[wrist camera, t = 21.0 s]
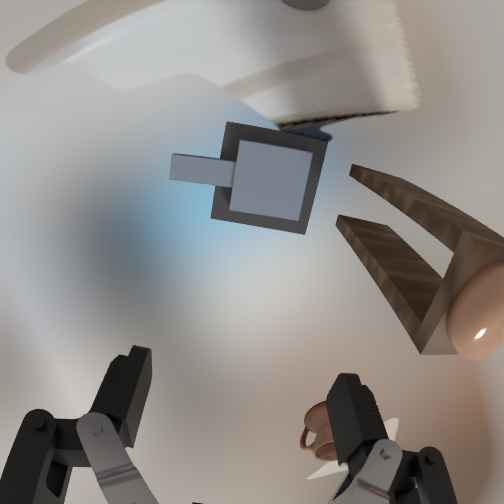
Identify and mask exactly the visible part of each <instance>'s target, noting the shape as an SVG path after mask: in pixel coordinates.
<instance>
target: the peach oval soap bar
mask: <svg viewBox="0 0 504 504" xmlns="http://www.w3.org/2000/svg"><path fill="white" fill-rule="evenodd" d="M446 332H447V336H448V339H449V340H450V342H451V343H452V345H453V346H454V348H455V349H456V350H457V352H458V353H459V355H460V356H461V357H463V358H464V359H468V360H474V359H478V358H481V357H484V356H485V355H488V354H489V353H491V352H493V351H494V350H495V349H497V348H498V347H499V346H500V345H501V344H503V343H504V262H503V261H501V262H495V263H492V264H490V265H488V266H486V267H484V268H483V269H481V270H480V271H479V272H478V273H476V274H475V275H474V276H473V277H472V278H471V279H470V280H469V281H468V282H467V284H466V285H465V286H464V287H463V289H462V290H461V291H460V293H459V294H458V296H457V298H456V299H455V301H454V303H453V305H452V307H451V310H450V312H449V315H448V319H447V324H446Z"/></svg>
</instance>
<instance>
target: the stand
mask: <svg viewBox="0 0 504 504" xmlns="http://www.w3.org/2000/svg"><path fill="white" fill-rule="evenodd" d="M349 175H350V176H351V177H353V178H354V179H356V180H357V181H359V182H360V183H362V184H363V185H365V186H366V187H368V188H369V189H370V190H372V191H373V192H375V193H376V194H378V195H379V196H381V197H382V198H383V199H385V200H386V201H388V202H389V203H390V204H392V205H393V206H395V207H396V208H398V209H399V210H400V211H401V212H403V213H404V214H406V215H407V216H408V217H410V218H411V219H412V220H414V221H415V222H416V223H418V224H419V225H420V226H421V227H423V228H424V229H425V230H427V231H428V232H429V233H430V234H432V235H433V236H434V237H435V238H437V239H438V240H439V241H440V242H442V243H443V244H444V245H445V246H446V247H448V248H449V249H450V250H451V251H453V252H454V255H453V257H452V260H451V263H450V264H449V267H448V269H447V271H446V274H445V276H444V278H441V276H440V275H439V274H438V273H437V272H436V271H435V270H434V269H433V268H432V267H431V266H430V265H429V264H428V263H427V262H426V261H425V260H424V259H423V258H422V257H421V256H420V255H419V254H418V253H417V252H416V251H415V250H414V249H412V248H411V247H410V246H409V245H408V244H407V243H406V242H405V241H404V240H403V239H402V238H401V237H400V236H399V235H397V234H396V233H395V232H394V231H393V230H392V229H391V228H390V227H389V226H387V225H383V224H379V223H374V222H370V221H366V220H361V219H357V218H352V217H348V216H343V215H338V218H337V222H336V227H337V228H338V229H339V231H340V232H341V233H342V235H343V236H344V238H345V239H346V241H347V242H348V243H349V245H350V246H351V247H352V249H353V250H354V252H355V253H356V255H357V256H358V258H359V259H360V260H361V262H362V263H363V265H364V266H365V268H366V269H367V271H368V272H369V273H370V275H371V277H372V278H373V279H374V281H375V282H376V284H377V286H378V287H379V289H380V290H381V292H382V293H383V295H384V296H385V298H386V299H387V301H388V302H389V304H390V305H391V307H392V309H393V310H394V312H395V313H396V315H397V317H398V318H399V320H400V321H401V323H402V324H403V326H404V328H405V330H406V331H407V333H408V334H409V336H410V338H411V339H412V341H413V343H414V344H415V346H416V348H417V349H418V351H419V353H420V354H421V355H425V354H426V355H436V354H437V355H439V354H440V355H441V354H459V353H458V352H457V350H456V349H455V348H454V346H453V345H452V343H451V342H450V340H449V339H448V336H447V332H446V324H447V319H448V315H449V312H450V310H451V307H452V305H453V303H454V301H455V299H456V298H457V296H458V294H459V293H460V291H461V290H462V289H463V287H464V286H465V285H466V284H467V282H468V281H469V280H470V279H471V278H472V277H473V276H474V275H475V274H476V273H478V272H479V271H480V270H481V269H483V268H484V267H486V266H488V265H490V264H492V263H495V262H501V261H503V262H504V237H502V236H500V235H499V234H498V233H496V232H494V231H493V230H491V229H490V228H488V227H487V226H485V225H484V224H482V223H481V222H479V221H477V220H476V219H474V218H472V217H471V216H469V215H468V214H466V213H464V212H462V211H461V210H459V209H457V208H456V207H454V206H452V205H450V204H448V203H447V202H445V201H443V200H441V199H440V198H438V197H436V196H434V195H433V194H431V193H429V192H427V191H425V190H423V189H421V188H420V187H418V186H416V185H414V184H412V183H410V182H408V181H406V180H404V179H402V178H399V177H395V176H392V175H389V174H386V173H382V172H379V171H375V170H372V169H369V168H365V167H361V166H358V165H354V164H352V166H351V171H350V174H349Z"/></svg>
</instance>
